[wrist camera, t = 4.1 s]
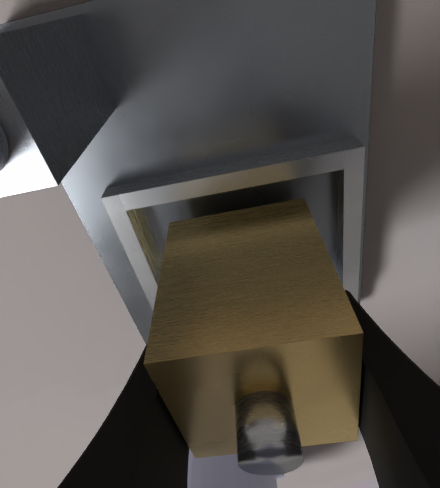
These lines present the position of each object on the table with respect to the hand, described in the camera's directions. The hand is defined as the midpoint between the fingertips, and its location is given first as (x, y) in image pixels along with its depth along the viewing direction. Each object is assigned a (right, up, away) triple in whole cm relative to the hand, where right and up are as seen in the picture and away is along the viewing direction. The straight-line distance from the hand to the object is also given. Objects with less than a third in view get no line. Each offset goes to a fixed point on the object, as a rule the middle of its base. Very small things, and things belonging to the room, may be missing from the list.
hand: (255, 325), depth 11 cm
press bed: (-1, +4, +3) cm, 5 cm away
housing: (0, +2, +2) cm, 3 cm away
